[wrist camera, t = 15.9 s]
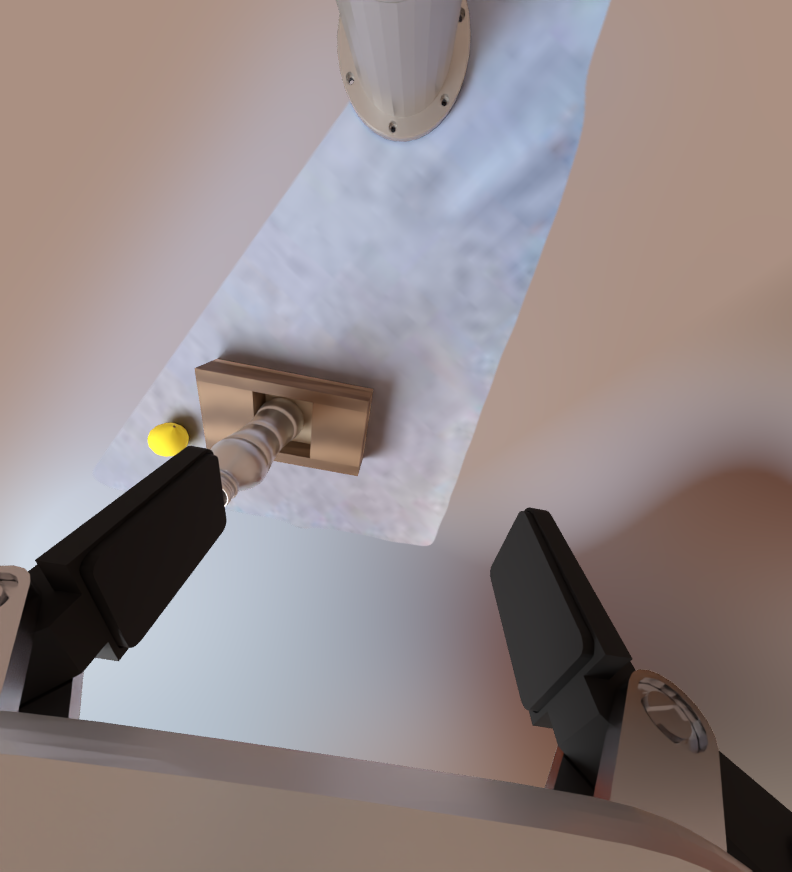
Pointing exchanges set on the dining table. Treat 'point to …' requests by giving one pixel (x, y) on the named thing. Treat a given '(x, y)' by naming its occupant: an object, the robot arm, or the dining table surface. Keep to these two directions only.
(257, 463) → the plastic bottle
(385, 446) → the dining table surface
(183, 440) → the lemon
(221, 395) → the brown slotted block
